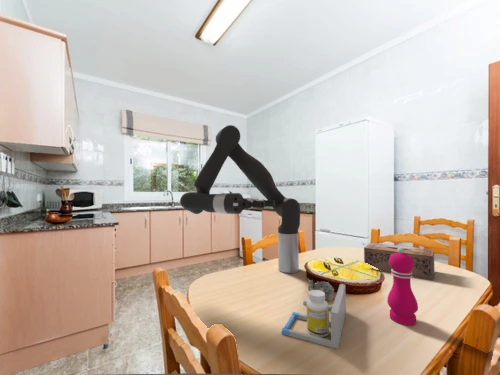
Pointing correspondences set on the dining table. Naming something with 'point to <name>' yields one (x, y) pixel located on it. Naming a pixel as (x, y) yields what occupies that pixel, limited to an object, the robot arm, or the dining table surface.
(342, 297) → the grey panel rail frame
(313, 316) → the supplement bottle
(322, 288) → the egg carton
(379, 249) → the tissue box cover
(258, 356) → the dining table surface
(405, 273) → the pepper mill
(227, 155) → the robot arm
